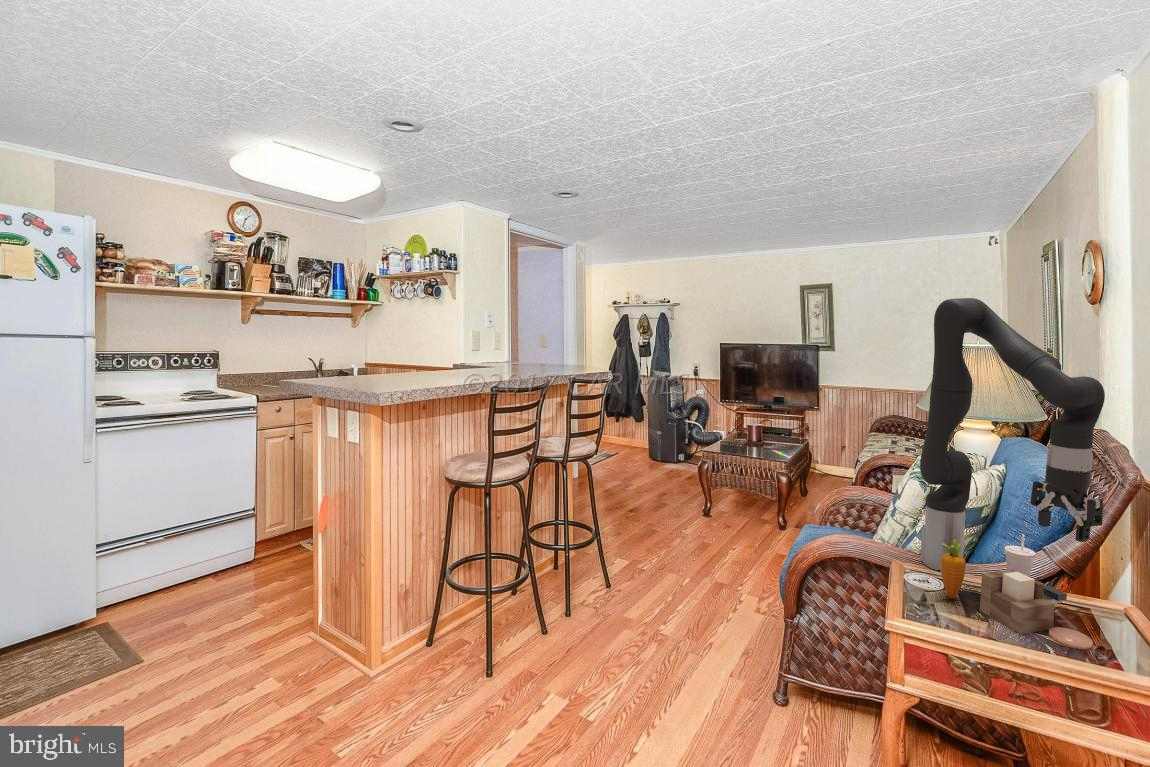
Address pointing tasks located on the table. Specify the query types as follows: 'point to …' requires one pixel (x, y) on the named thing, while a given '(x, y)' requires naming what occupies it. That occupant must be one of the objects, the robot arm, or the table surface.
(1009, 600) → the box
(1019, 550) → the smoothie
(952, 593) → the carrot
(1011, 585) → the cream block
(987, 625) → the table surface
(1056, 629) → the terracotta dish
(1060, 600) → the dark grey long block
